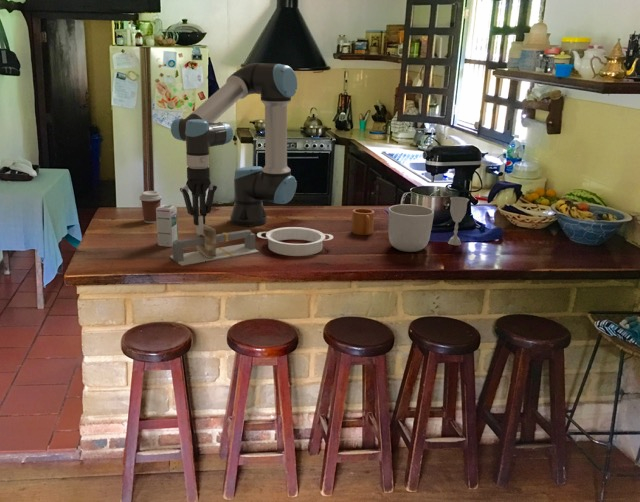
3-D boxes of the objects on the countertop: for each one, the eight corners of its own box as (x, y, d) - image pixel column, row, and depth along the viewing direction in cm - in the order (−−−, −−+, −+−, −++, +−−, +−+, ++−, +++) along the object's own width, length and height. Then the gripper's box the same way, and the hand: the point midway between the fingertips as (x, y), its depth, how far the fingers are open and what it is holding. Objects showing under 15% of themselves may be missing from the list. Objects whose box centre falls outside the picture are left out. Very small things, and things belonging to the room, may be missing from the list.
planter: (439, 250, 245) (443, 211, 240) (409, 258, 234) (413, 218, 229) (406, 239, 257) (409, 202, 252) (376, 246, 246) (379, 208, 241)
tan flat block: (204, 248, 232) (203, 223, 229) (216, 256, 225) (215, 229, 222) (196, 249, 231) (195, 224, 228) (208, 257, 223) (207, 231, 220)
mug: (353, 237, 256) (354, 215, 254) (350, 229, 268) (351, 208, 265) (375, 237, 257) (376, 215, 254) (372, 229, 268) (373, 208, 265)
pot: (254, 256, 231) (254, 243, 230) (258, 237, 252) (259, 225, 251) (333, 258, 232) (334, 246, 230) (331, 240, 253) (332, 228, 251)
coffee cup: (161, 217, 273) (159, 189, 269) (165, 223, 265) (164, 194, 261) (138, 218, 269) (137, 190, 266) (142, 224, 262) (141, 196, 258)
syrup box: (172, 247, 236) (170, 209, 231) (157, 245, 237) (155, 207, 233) (178, 242, 241) (177, 205, 237) (164, 241, 242) (162, 203, 238)
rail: (245, 244, 242) (245, 226, 240) (258, 252, 234) (259, 233, 232) (170, 257, 226) (169, 237, 223) (181, 265, 218) (180, 245, 216)
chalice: (465, 242, 255) (470, 198, 250) (461, 247, 249) (466, 202, 244) (447, 239, 258) (452, 195, 252) (443, 244, 252) (447, 199, 247)
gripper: (184, 170, 210) (186, 239, 218) (220, 167, 217) (221, 233, 225) (175, 166, 216) (177, 233, 224) (210, 163, 223) (212, 228, 231)
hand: (199, 233), depth 224 cm, fingers closed
